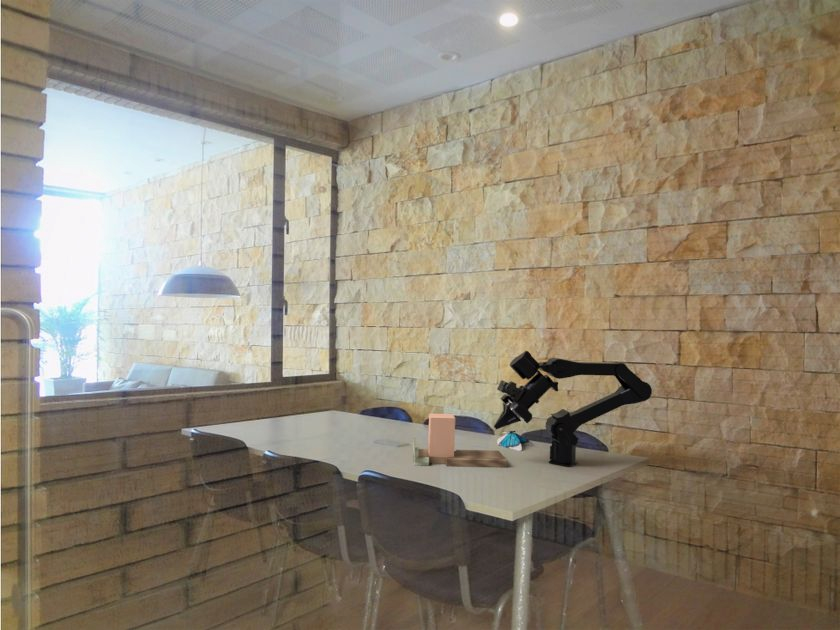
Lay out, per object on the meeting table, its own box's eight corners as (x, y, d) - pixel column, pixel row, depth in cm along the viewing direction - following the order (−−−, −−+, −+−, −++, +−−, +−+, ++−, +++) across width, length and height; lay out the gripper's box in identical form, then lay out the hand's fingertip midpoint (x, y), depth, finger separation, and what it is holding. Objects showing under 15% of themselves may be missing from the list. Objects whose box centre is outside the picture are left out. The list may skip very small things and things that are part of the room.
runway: (498, 456, 175) (499, 440, 175) (506, 467, 163) (507, 449, 163) (412, 454, 173) (413, 438, 173) (414, 465, 161) (415, 447, 161)
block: (451, 451, 171) (452, 414, 171) (453, 456, 164) (455, 418, 164) (427, 450, 171) (429, 413, 171) (429, 456, 164) (430, 417, 164)
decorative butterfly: (505, 430, 198) (531, 427, 192) (509, 449, 197) (535, 446, 191) (490, 434, 190) (517, 431, 184) (494, 454, 189) (521, 451, 183)
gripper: (507, 368, 178) (471, 403, 178) (521, 374, 159) (481, 413, 159) (532, 394, 179) (496, 429, 178) (549, 403, 160) (508, 442, 159)
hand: (495, 427), depth 169 cm, fingers closed
